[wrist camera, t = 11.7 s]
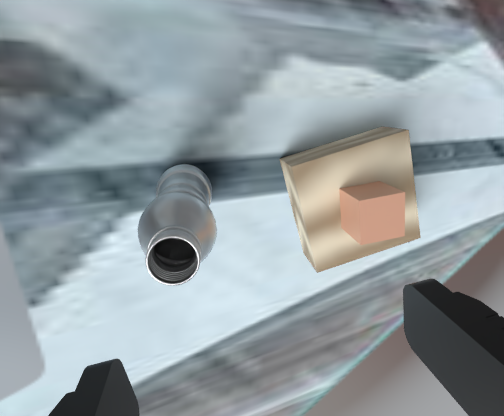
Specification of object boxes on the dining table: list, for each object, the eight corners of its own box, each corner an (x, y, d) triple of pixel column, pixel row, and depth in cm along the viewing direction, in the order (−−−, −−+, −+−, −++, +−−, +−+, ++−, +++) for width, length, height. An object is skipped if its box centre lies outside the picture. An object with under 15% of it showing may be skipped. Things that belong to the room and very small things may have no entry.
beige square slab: (278, 158, 41) (291, 166, 36) (380, 126, 42) (408, 129, 37) (302, 252, 46) (317, 272, 41) (393, 221, 47) (420, 237, 41)
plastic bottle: (214, 164, 40) (228, 217, 21) (208, 215, 42) (215, 306, 23) (160, 157, 39) (124, 207, 20) (156, 210, 41) (120, 302, 22)
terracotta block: (339, 188, 38) (359, 200, 33) (379, 181, 38) (405, 192, 33) (341, 228, 39) (360, 245, 34) (380, 220, 40) (404, 236, 35)
